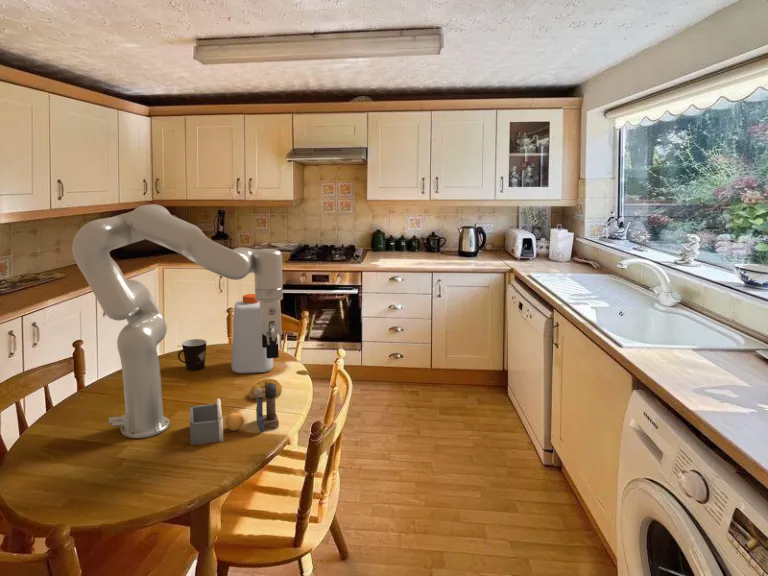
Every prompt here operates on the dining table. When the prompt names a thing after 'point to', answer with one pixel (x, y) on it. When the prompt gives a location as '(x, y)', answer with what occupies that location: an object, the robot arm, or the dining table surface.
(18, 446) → the dining table surface
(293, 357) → the dining table surface
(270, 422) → the striker
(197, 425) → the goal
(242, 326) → the plastic bottle
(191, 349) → the coffee mug
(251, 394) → the bagel
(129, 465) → the dining table surface
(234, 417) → the ball
